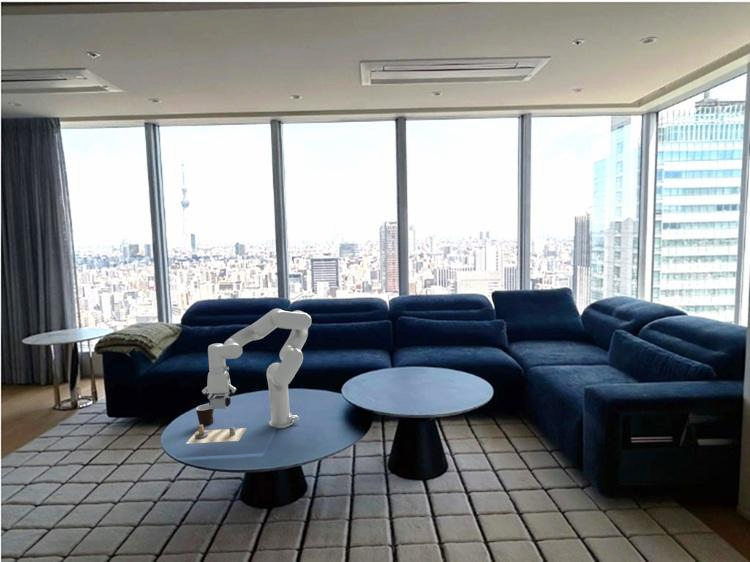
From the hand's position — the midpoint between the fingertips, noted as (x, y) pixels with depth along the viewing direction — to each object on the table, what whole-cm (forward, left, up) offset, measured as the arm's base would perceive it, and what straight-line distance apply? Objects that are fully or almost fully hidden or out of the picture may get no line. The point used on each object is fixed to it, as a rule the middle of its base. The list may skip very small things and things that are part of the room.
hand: (220, 405), depth 221 cm
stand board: (+3, 0, -16) cm, 17 cm away
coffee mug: (+13, -17, -17) cm, 27 cm away
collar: (0, 0, 0) cm, 0 cm away
